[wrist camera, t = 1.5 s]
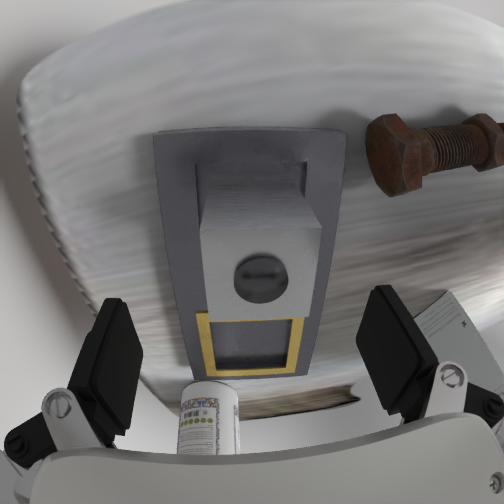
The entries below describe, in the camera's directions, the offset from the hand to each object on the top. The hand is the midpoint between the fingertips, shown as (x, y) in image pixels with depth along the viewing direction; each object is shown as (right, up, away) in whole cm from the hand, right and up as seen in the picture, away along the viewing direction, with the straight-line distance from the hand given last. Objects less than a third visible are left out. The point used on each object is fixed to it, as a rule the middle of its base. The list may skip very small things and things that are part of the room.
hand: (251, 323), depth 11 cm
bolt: (+16, +12, +8) cm, 21 cm away
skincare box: (+21, -6, +19) cm, 29 cm away
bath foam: (-5, -15, +23) cm, 28 cm away
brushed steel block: (0, +6, +9) cm, 11 cm away
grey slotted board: (0, +1, +13) cm, 14 cm away
